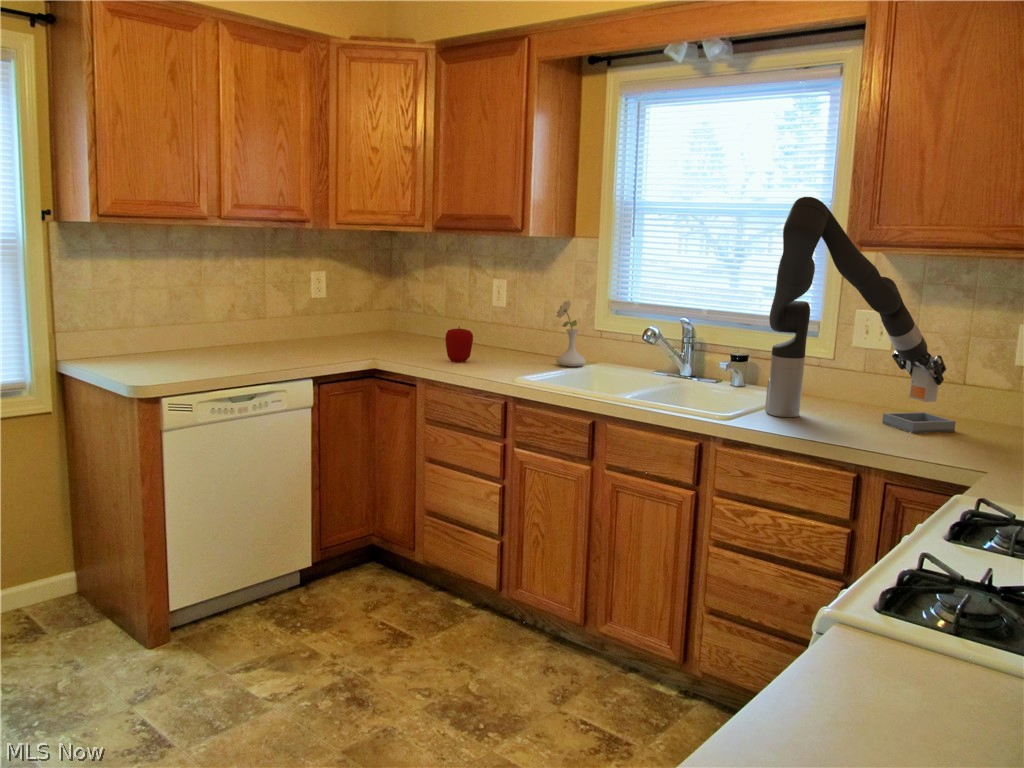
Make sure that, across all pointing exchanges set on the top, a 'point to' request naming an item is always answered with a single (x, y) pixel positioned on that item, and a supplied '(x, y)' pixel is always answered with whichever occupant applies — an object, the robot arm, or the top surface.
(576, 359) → the flower in vase
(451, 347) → the apple
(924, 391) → the skincare box
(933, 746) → the top surface
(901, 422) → the tray
